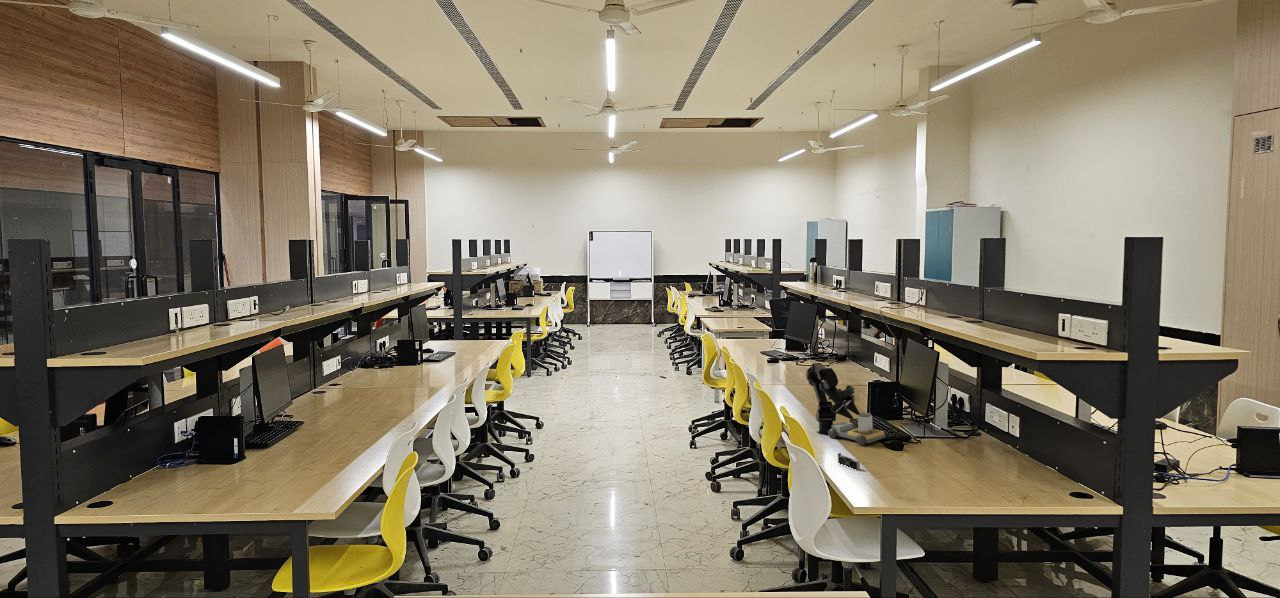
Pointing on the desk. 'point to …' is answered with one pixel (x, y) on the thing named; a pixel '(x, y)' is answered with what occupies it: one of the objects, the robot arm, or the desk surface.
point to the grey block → (865, 424)
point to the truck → (854, 433)
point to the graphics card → (848, 462)
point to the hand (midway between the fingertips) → (856, 416)
